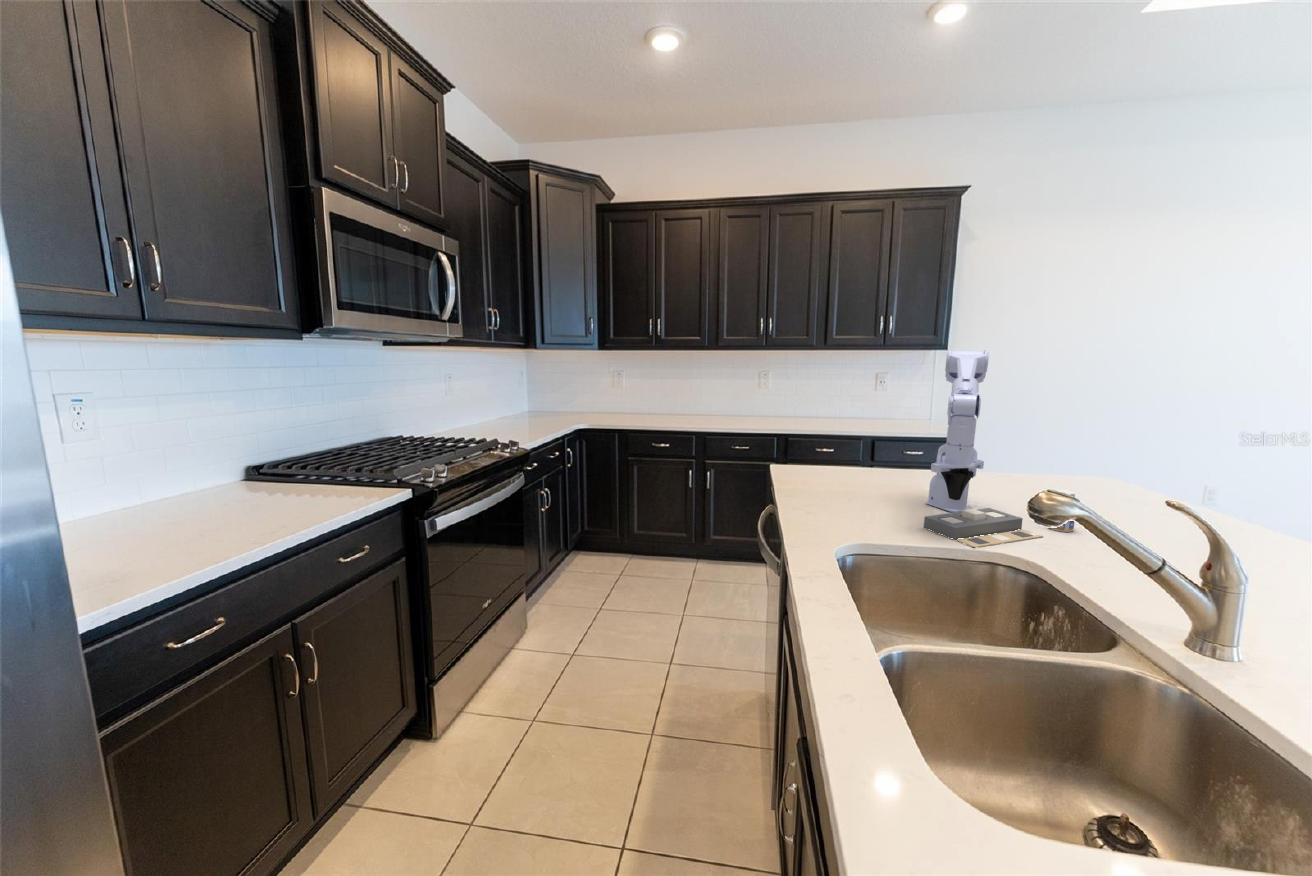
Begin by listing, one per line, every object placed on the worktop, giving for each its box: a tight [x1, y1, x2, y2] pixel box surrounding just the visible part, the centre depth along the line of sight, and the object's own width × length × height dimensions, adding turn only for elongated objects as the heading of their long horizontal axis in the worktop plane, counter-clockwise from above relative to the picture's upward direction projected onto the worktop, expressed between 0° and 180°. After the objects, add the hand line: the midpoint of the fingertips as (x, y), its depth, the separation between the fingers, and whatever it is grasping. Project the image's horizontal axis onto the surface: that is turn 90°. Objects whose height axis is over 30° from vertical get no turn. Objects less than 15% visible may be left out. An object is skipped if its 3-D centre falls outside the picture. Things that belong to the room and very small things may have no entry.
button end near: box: [941, 517, 964, 524], centre depth 129 cm, size 4×4×3 cm
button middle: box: [962, 508, 986, 521], centre depth 131 cm, size 4×4×3 cm
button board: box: [923, 507, 1024, 540], centre depth 131 cm, size 9×22×3 cm, turn 109°
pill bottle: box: [1050, 489, 1076, 533], centre depth 131 cm, size 5×5×10 cm
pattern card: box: [956, 529, 1044, 548], centre depth 124 cm, size 5×22×1 cm, turn 109°
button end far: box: [986, 512, 1006, 518], centre depth 133 cm, size 4×4×3 cm
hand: (954, 499), depth 128 cm, fingers closed
